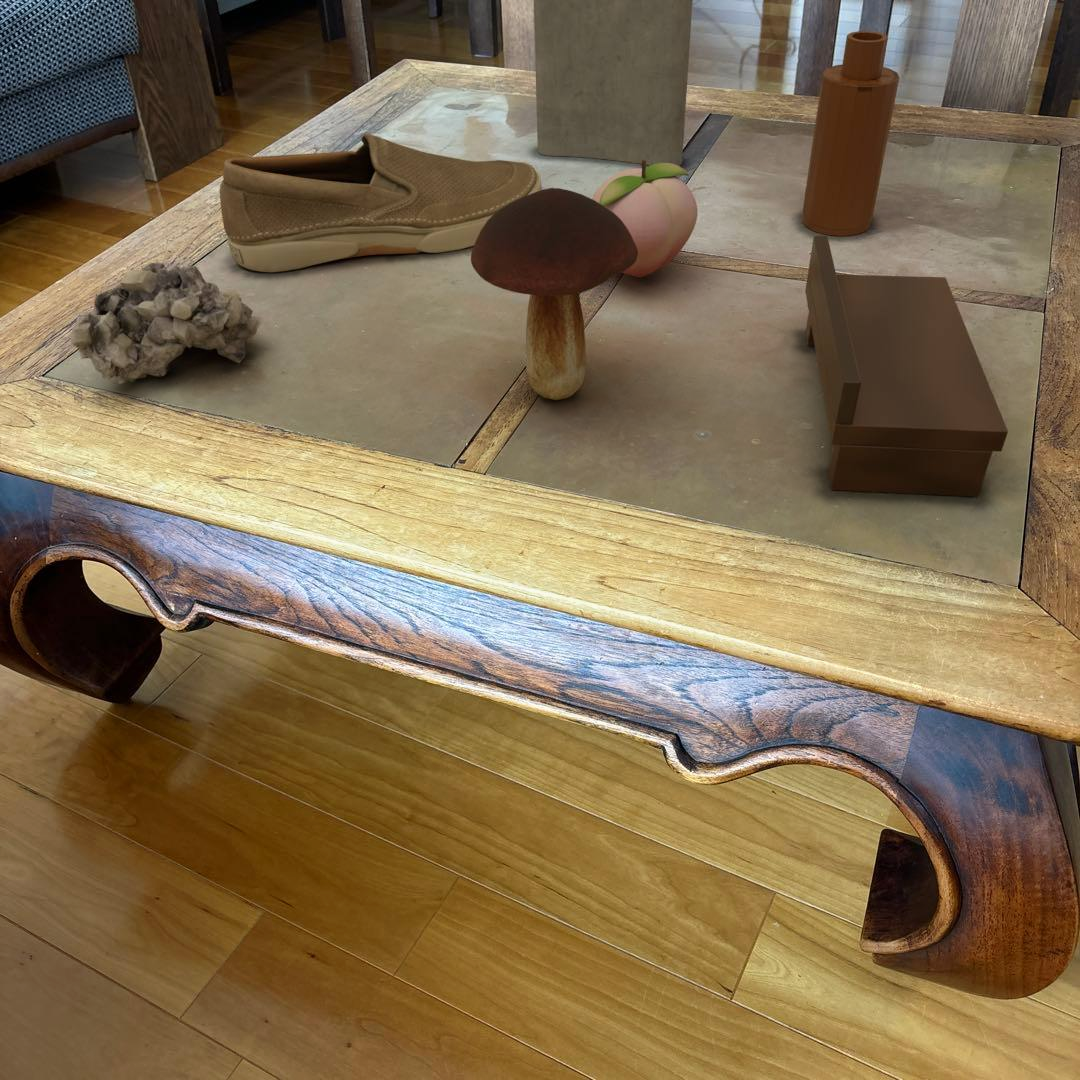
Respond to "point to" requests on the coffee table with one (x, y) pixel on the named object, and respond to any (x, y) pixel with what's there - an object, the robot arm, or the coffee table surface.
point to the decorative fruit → (651, 212)
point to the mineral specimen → (161, 322)
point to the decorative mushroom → (553, 275)
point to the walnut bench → (899, 383)
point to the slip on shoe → (361, 203)
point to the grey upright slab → (612, 78)
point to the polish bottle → (850, 138)
